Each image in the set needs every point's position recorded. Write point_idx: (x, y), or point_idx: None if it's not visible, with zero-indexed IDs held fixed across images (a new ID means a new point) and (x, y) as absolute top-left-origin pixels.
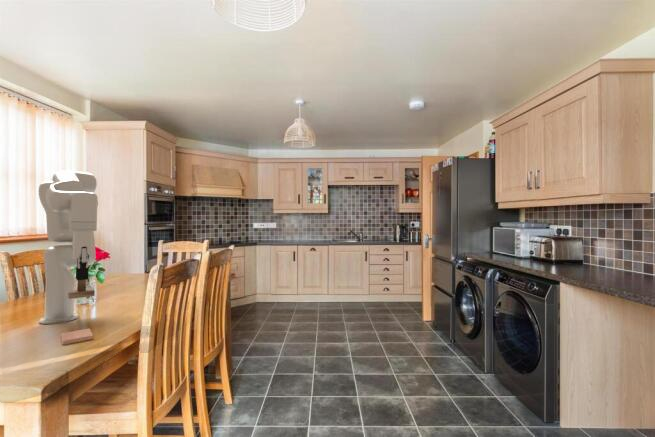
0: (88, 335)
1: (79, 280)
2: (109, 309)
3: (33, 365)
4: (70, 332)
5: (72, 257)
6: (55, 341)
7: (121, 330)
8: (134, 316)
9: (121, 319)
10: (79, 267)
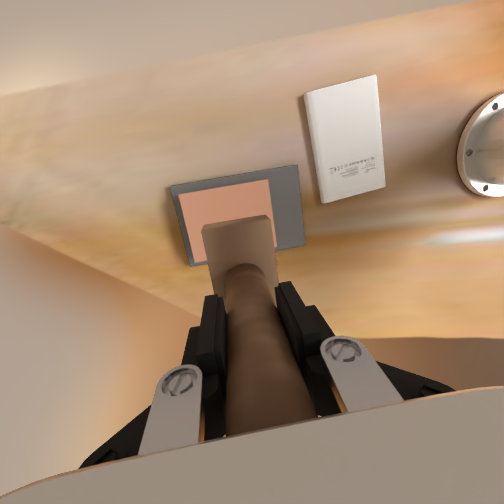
0: (199, 252)
1: (228, 304)
2: None
3: (76, 144)
4: (261, 203)
5: (226, 464)
6: (264, 166)
7: None
8: (390, 331)
9: (381, 304)
10: (159, 394)
